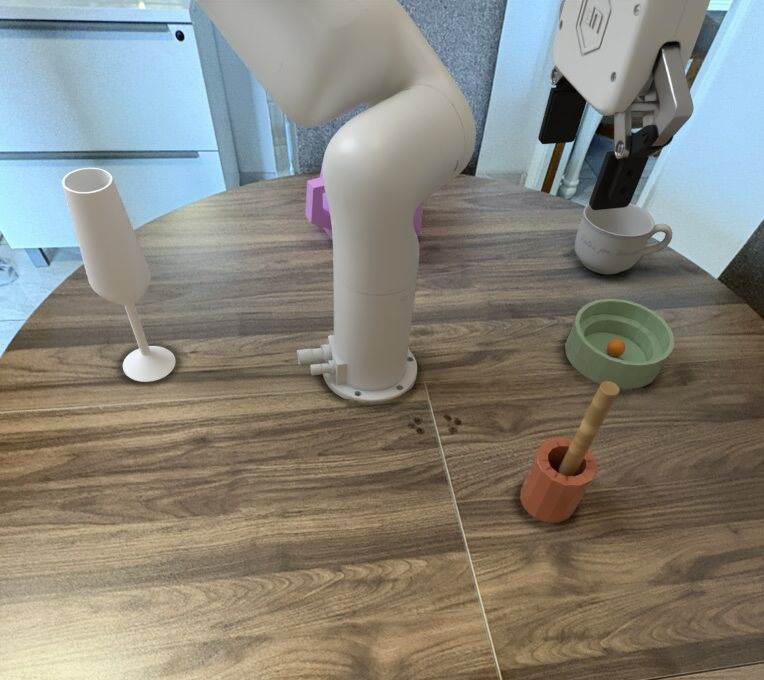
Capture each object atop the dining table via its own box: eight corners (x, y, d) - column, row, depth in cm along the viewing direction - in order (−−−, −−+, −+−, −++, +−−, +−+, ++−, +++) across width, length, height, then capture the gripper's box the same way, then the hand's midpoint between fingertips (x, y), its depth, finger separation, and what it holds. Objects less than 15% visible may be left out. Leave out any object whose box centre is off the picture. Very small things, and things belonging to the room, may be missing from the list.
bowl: (588, 399, 82) (602, 371, 77) (549, 333, 88) (559, 304, 84) (675, 385, 84) (692, 357, 80) (630, 322, 91) (644, 293, 87)
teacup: (561, 271, 97) (577, 223, 90) (575, 235, 103) (592, 188, 96) (648, 296, 95) (672, 250, 88) (658, 258, 100) (681, 212, 94)
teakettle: (302, 249, 96) (297, 168, 86) (334, 193, 105) (334, 114, 95) (407, 272, 94) (415, 193, 84) (431, 213, 104) (441, 136, 93)
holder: (531, 531, 69) (551, 490, 63) (510, 485, 73) (527, 442, 66) (582, 521, 71) (607, 479, 64) (559, 476, 74) (581, 433, 67)
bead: (606, 337, 84) (604, 354, 84) (624, 336, 83) (623, 353, 83) (609, 343, 86) (607, 359, 86) (627, 341, 85) (625, 358, 85)
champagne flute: (168, 340, 83) (114, 157, 63) (181, 373, 80) (130, 191, 60) (117, 353, 81) (45, 168, 61) (129, 387, 78) (57, 204, 58)
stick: (548, 506, 70) (605, 396, 55) (542, 494, 71) (596, 382, 56) (562, 504, 71) (623, 393, 56) (556, 491, 72) (614, 379, 57)
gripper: (558, -173, 38) (498, 122, 52) (704, -89, 29) (584, 241, 43) (664, -170, 40) (577, 117, 54) (834, -88, 31) (676, 231, 45)
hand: (580, 172), depth 49 cm, fingers open, 9 cm apart
